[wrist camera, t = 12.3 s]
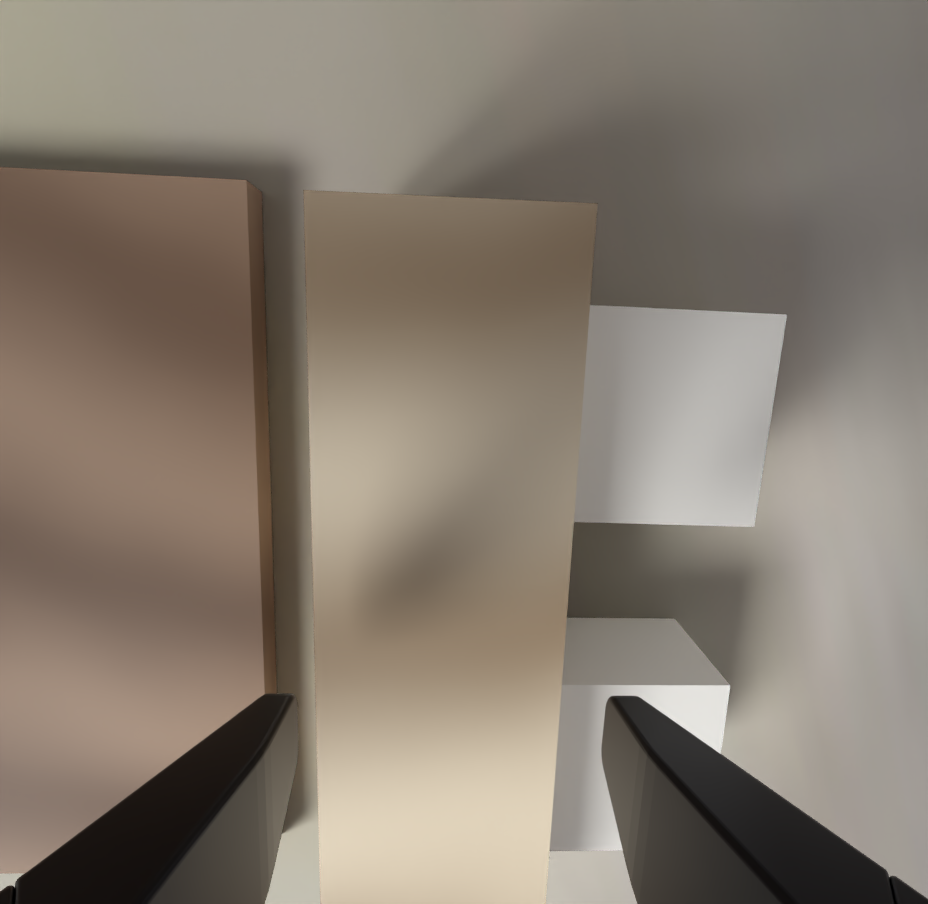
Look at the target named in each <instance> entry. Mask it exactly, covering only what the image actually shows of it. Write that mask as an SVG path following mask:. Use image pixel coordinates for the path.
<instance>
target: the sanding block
mask: <svg viewBox="0 0 928 904" xmlns="http://www.w3.org/2000/svg"><path fill="white" fill-rule="evenodd" d="M303 193H304V235H305V277H306V319H307V361H308V403H309V445H310V487H311V529H312V571H313V613H314V655H315V697H316V739H317V781H318V823H319V865H320V904H546V891H547V877H548V864H549V850H550V837H551V823H552V810H553V797H554V783H555V770H556V756H557V743H558V729H559V716H560V702H561V689H562V675H563V662H564V649H565V635H566V622H567V608H568V595H569V581H570V568H571V554H572V541H573V527H574V514H575V500H576V487H577V474H578V460H579V447H580V433H581V420H582V406H583V393H584V379H585V366H586V352H587V339H588V326H589V312H590V299H591V285H592V272H593V258H594V245H595V231H596V218H597V204H598V203H578V202H556V201H534V200H512V199H489V198H467V197H445V196H423V195H400V194H378V193H356V192H334V191H312V190H303Z"/></svg>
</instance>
